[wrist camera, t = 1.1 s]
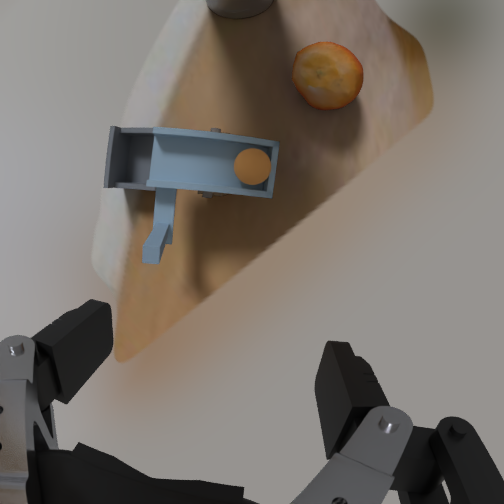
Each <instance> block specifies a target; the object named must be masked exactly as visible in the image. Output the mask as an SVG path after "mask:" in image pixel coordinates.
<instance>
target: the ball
mask: <svg viewBox="0 0 504 504" xmlns="http://www.w3.org/2000/svg"><path fill="white" fill-rule="evenodd" d="M234 172H235V174H236V176H237V178H238V179H239V180H240V181H242V182H243V183H245V184H249V185H256V184H260V183H262V182H263V181H265V180H266V179H267V178H268V176H269V174H270V172H271V161H270V159H269V157H268V156H267V154H266V153H265V152H263V151H262V150H259V149H256V148H249V149H246V150H243V151H242V152H240V153H239V154H238V156H237V157H236V159H235V161H234Z"/></svg>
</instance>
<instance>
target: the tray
mask: <svg viewBox="0 0 504 504" xmlns="http://www.w3.org/2000/svg"><path fill="white" fill-rule="evenodd" d="M154 136H155V135H154V134H153V128H120V127H116V126H111V127H110V134H109V142H108V149H107V158H106V167H105V177H104V188H113V187H115V188H128V189H140V190H151V191H156V187H149V186H146V183H147V180H149V176H150V167H151V158H152V150H153V143H154Z"/></svg>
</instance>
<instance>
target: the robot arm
mask: <svg viewBox="0 0 504 504" xmlns="http://www.w3.org/2000/svg"><path fill="white" fill-rule="evenodd" d="M206 2H207V5H208V6H209V8H210V9H211V10H212V11H213V12H214V13H216V14H218V15H220V16H223V17H227V18H247V17H251V16H254V15H257V14H259V13H261V12H263V11H264V10H266V9H267V8H268V7H269V6H270V5H271V4H272V2H273V0H206ZM112 347H113V328H112V313H111V307H110V305H109V304H108V303H105V302H101V301H96V300H93V299H90V300H89V301H87V302H86V303H84V304H83V305H82V306H80V307H79V308H77V309H74V310H71V311H68V312H66V313H65V314H63V315H62V316H60V317H59V319H56V320H55V321H54V322H52V324H49V325H48V326H46V327H45V328H44V329H42V330H41V331H40V332H38V333H37V334H36V335H34V336H33V337H32V338H29V337H26V336H22V335H15V336H10V337H7V338H5V339H4V340H2V341H1V342H0V504H258V503H256V502H254V501H251V500H248V499H245V498H243V494H244V487H239V486H231V485H224V484H218V483H211V482H206V481H201V480H172V479H156V478H151V477H148V476H147V475H145V474H143V473H141V472H139V471H138V470H136V469H134V468H132V467H131V466H129V465H127V464H125V463H124V462H122V461H120V460H119V459H117V458H116V457H114V456H111V455H109V454H106V453H104V452H101V451H98V450H96V449H94V448H91V447H89V446H86V445H84V444H82V443H80V442H78V444H77V445H76V447H75V449H74V450H73V451H69V450H59V448H58V443H57V436H56V428H55V420H54V410H53V406H52V401H53V400H54V399H56V400H58V401H60V402H62V403H64V404H68V403H69V401H70V400H71V399H72V398H73V397H74V395H75V394H76V393H77V392H78V391H79V389H80V388H81V387H82V386H83V385H84V384H85V382H86V381H87V380H88V379H89V378H90V377H91V375H92V374H93V373H94V372H95V370H97V368H98V367H99V366H100V365H101V364H102V363H103V361H104V360H105V359H106V358H107V357H108V356H109V354H110V353H111V351H112ZM315 396H316V401H317V407H318V412H319V418H320V423H321V429H322V435H323V440H324V446H325V452H326V458H327V460H328V459H330V460H329V461H328V463H327V464H326V465H325V467H323V469H322V470H321V471H320V472H319V473H318V474H317V476H316V477H315V478H314V479H313V480H312V481H311V482H310V483H309V484H308V486H307V487H306V488H305V489H304V490H303V491H302V492H301V493H300V494H299V495H298V496H297V497H296V498H295V499H294V500H293V501H292V502H291V503H290V504H381V503H382V501H383V500H384V498H385V496H386V494H387V492H388V490H397V491H398V495H399V499H400V503H401V504H449V502H448V499H447V496H446V494H445V491H444V489H443V486H442V482H443V480H444V479H445V482H446V484H447V487H448V489H449V492H450V495H451V502H450V504H504V480H503V478H502V476H501V475H500V473H499V471H498V469H497V467H496V465H495V463H494V462H493V460H492V458H491V456H490V455H489V453H488V451H487V449H486V448H485V446H484V444H483V442H482V441H481V439H480V437H479V436H478V434H477V432H476V431H475V429H474V428H473V426H472V425H471V424H470V423H469V422H467V421H466V420H464V419H461V418H459V417H446V418H444V419H442V420H441V421H440V422H439V424H438V425H437V427H436V429H431V428H424V427H417V426H413V423H412V420H411V419H410V417H409V416H408V415H407V414H406V413H405V412H403V411H401V410H400V409H397V408H394V407H390V405H389V403H388V401H387V399H386V396H385V394H384V392H383V390H382V388H381V386H380V384H379V383H378V380H377V378H376V376H375V375H374V372H373V370H372V368H371V366H370V365H369V364H368V363H367V362H366V361H365V360H364V359H363V358H362V357H360V356H355V355H354V353H353V350H352V348H351V346H350V344H349V343H348V342H338V341H328V342H327V343H326V345H325V348H324V352H323V355H322V359H321V362H320V365H319V369H318V372H317V375H316V380H315Z"/></svg>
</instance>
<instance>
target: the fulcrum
mask: <svg viewBox="0 0 504 504" xmlns="http://www.w3.org/2000/svg"><path fill="white" fill-rule="evenodd" d="M211 132H217V133H220V132H221V129H218V128H211ZM225 134H230V133H225ZM198 194H203V196H202V197H205V198H212V195H214V196H224V195H227V193H219V192H209V191H199V190H198Z"/></svg>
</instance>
